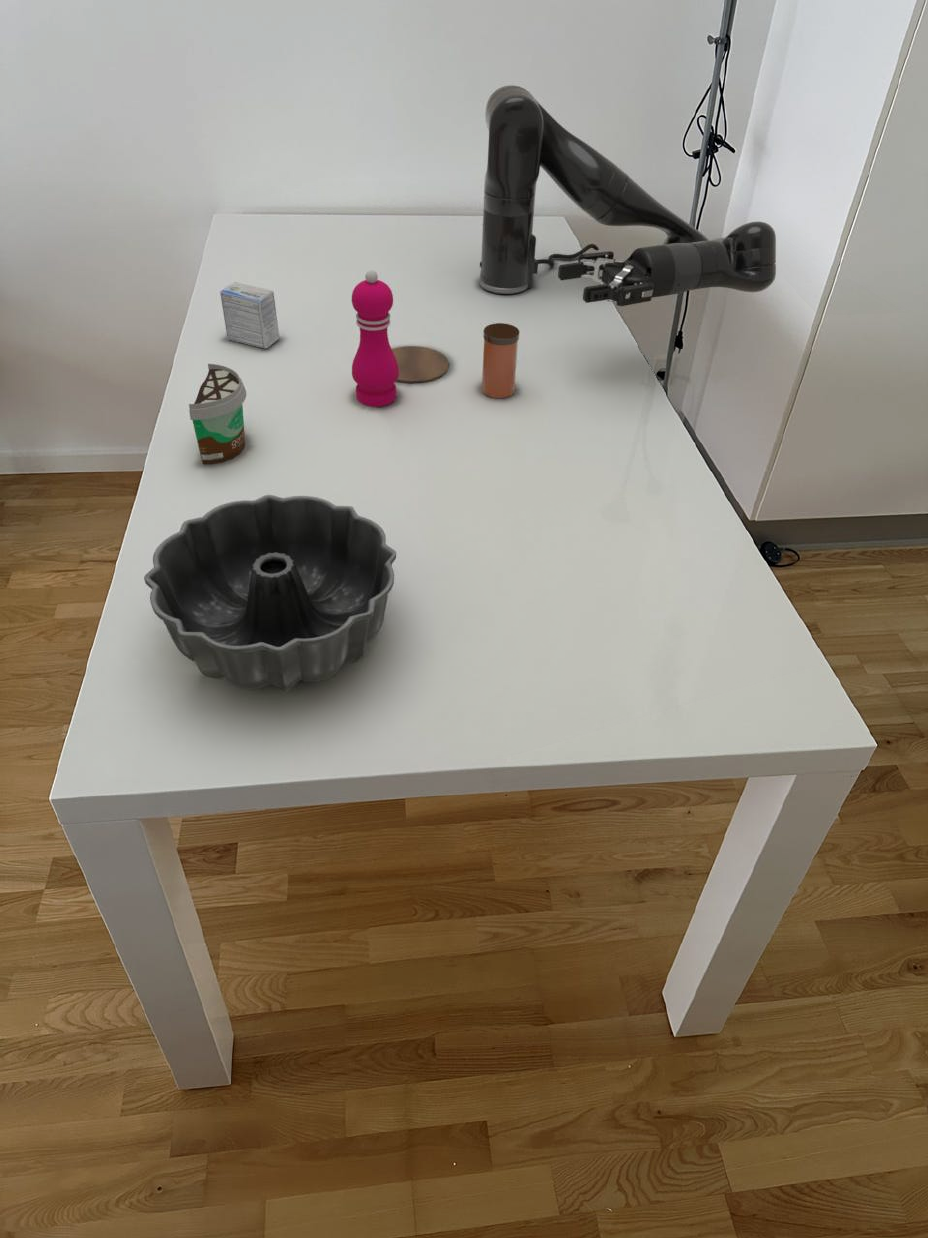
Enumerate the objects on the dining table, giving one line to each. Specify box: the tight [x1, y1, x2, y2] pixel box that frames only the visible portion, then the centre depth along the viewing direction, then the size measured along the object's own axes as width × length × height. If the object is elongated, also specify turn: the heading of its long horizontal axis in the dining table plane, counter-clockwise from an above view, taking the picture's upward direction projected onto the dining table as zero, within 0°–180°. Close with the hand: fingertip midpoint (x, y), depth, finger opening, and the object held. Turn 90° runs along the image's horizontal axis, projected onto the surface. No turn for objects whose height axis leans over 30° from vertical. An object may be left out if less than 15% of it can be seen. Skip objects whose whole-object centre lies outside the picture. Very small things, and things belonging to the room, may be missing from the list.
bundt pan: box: [143, 494, 397, 692], centre depth 102 cm, size 26×26×10 cm
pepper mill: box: [351, 269, 399, 408], centre depth 138 cm, size 7×7×20 cm
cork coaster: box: [391, 345, 450, 384], centre depth 152 cm, size 12×12×1 cm
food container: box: [188, 363, 247, 465], centre depth 129 cm, size 12×6×10 cm, turn 179°
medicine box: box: [219, 281, 280, 350], centre depth 154 cm, size 8×4×9 cm, turn 65°
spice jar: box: [481, 322, 520, 399], centre depth 144 cm, size 6×6×10 cm
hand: (571, 283), depth 139 cm, fingers open, 8 cm apart
